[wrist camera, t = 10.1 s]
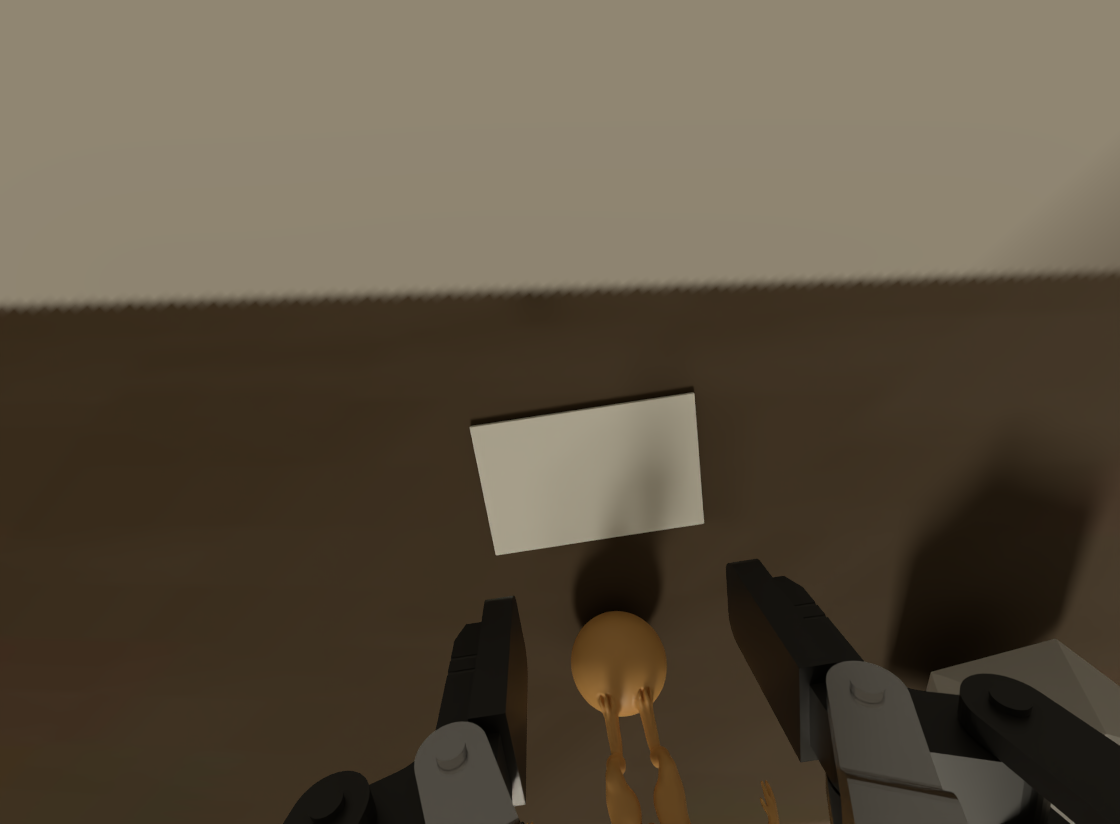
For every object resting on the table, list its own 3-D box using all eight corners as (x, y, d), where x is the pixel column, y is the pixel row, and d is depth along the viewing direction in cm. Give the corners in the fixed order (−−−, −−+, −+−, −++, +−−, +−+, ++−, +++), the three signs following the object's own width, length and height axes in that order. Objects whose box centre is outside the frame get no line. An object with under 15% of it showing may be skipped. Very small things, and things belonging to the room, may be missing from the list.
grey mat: (692, 392, 21) (694, 393, 20) (702, 521, 22) (704, 523, 22) (470, 426, 21) (469, 427, 20) (496, 552, 22) (495, 555, 22)
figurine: (697, 576, 23) (857, 889, 12) (709, 683, 25) (860, 1050, 13) (513, 609, 23) (491, 954, 12) (538, 714, 25) (541, 1106, 13)
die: (830, 659, 25) (1015, 911, 15) (1003, 563, 24) (1323, 768, 14) (900, 768, 27) (1103, 1049, 17) (1063, 684, 26) (1375, 935, 16)
